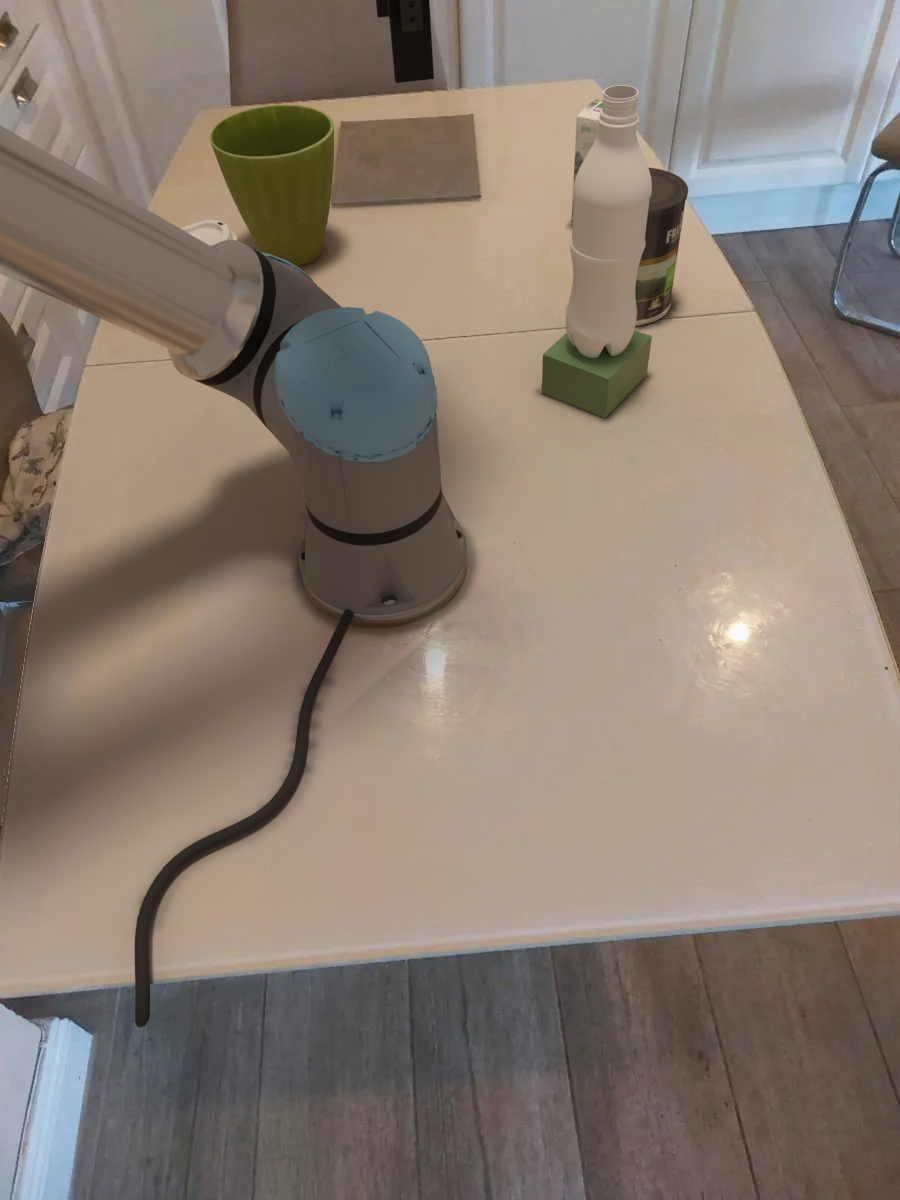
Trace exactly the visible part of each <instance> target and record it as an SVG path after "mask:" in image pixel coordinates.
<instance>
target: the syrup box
mask: <svg viewBox="0 0 900 1200" xmlns="http://www.w3.org/2000/svg"><path fill="white" fill-rule="evenodd" d="M602 100H603V99H597V98H596V99H594V100H593V101H591V102H590V103H589V104H587V105H586V106H585V107H584V108H583V109H582V110H581V111H580V112H579V113H578V114H577V115H576V123H575V143H574V144H575V145H574V146H575V147H574V165H573V184H572V188H573V187H574V182H575V178H576V175H577V173H578V170H579V168H580V166H581V164H582V163H583V161H584V159H585V157H586V155H587V154H588V152H589V151H590V149H591V147H592V146H593V144H594V142H595V140H596V138H597V135H598V132H599V128H600V125H599V123H598V117H599V115H600V110H601V108H602ZM571 201H572V203H571V204H572V205H571V223H570V225H571V226H572V224H573V206H574V195H573V194H572V200H571Z"/></svg>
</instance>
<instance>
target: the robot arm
mask: <svg viewBox="0 0 900 1200" xmlns="http://www.w3.org/2000/svg"><path fill="white" fill-rule="evenodd" d="M430 3H431V2H430V0H375V7H376V15H377V18H389V19H388V21H389V28H390V29H389V31H390V40H391V41H390V42H391V43H390V44H391V52H392V53H391V54H392V64H393V76H394V82H395V84H401V83H411V82H418V81H419V82H420V81H428V80H434V79H435V74H434V73H435V72H434V56H433V40H432V37H433V36H432V22H431V4H430ZM180 228H181V227H179V226H176V225H175V224H174V223H171V222H170V221H168V220H166V219H165V218H163V217H161V216H160V215H158V214H156V213H154V212H153V211H150V210H149V209H147V208H145V207H144V206H142V205H140V204H138V203H136V202H135V201H133V200H131V199H130V198H128V197H126V196H125V195H123V194H121V193H119V192H118V191H116V190H114V189H112V188H110V187H109V186H107V185H105V184H104V183H103V182H100V181H98V180H97V179H95V178H93V177H91V176H90V175H88V174H86V173H84V172H82V171H81V170H79V169H77V168H75V166H73V165H71V164H69V163H67V162H65V161H64V160H62V159H60V158H59V157H57V156H55V155H53V154H51V153H49V152H48V151H46V150H44V149H43V148H40V147H39V146H37V145H35V143H32V142H31V141H29V140H27V139H25V138H24V137H22V136H21V135H18V134H17V133H14V132H13V131H11V130H9V129H8V128H6V127H4V126H2V125H1V124H0V275H2V276H4V277H7V278H9V279H11V280H13V281H16V282H18V283H20V284H23V285H24V286H26V287H29V288H31V289H34V290H35V291H38V292H41V293H43V294H45V295H47V296H49V297H52V298H54V299H56V300H59V301H60V302H63V303H65V304H68V305H70V306H72V307H73V308H77V309H78V310H81V311H83V312H85V313H88V314H90V315H92V316H95V317H97V318H99V319H101V320H103V321H106V322H108V323H110V324H112V325H115V326H117V327H119V328H122V329H124V330H126V331H128V332H131V333H132V334H134V335H137V336H139V337H142V338H143V339H146V340H149V341H150V342H153V343H155V344H158V345H160V346H161V347H164V348H166V349H167V352H168V355H169V358H170V361H171V364H172V365H173V367H174V368H175V370H177V372H178V373H180V374H181V375H182V376H184V377H186V378H187V379H191V380H193V381H195V382H197V383H200V384H202V385H205V386H207V387H209V388H211V389H213V390H216V391H218V392H221V393H223V394H226V395H227V396H230V397H232V398H235V399H236V400H238V401H239V402H241V403H243V404H244V405H245V406H247V407H248V408H249V409H250V410H251V412H252V413H253V414H254V415H255V416H256V417H257V418H258V419H259V421H260V422H261V423H262V424H263V426H264V427H265V428H266V429H267V430H268V431H269V433H271V434H272V436H273V437H274V438H275V439H276V440H277V441H278V443H280V445H282V447H283V448H284V449H285V450H286V451H287V452H288V454H289V455H290V457H291V458H292V461H293V463H294V465H295V468H296V471H297V474H298V475H297V476H298V478H299V483H300V488H301V491H302V492H301V493H302V495H303V500H304V504H305V508H306V518H305V523H304V526H303V527H304V528H303V533H302V534H303V535H302V540H301V543H300V548H299V553H298V554H299V555H298V566H299V567H298V568H299V571H300V572H299V573H300V575H301V579H302V583H303V587H304V590H305V592H306V593H307V596H308V597H309V600H311V601H312V603H313V604H314V605H315V606H316V607H317V608H318V609H319V611H322V613H323V614H326V615H327V616H329V617H330V618H332V619H334V620H336V621H338V623H337V625H336V626H335V629H334V630H333V633H332V636H331V638H330V639H329V642H328V644H327V646H326V648H325V650H324V652H323V654H322V656H321V658H320V661H319V662H318V664H317V666H316V668H315V671H314V672H313V675H312V676H311V679H310V681H309V683H308V685H307V688H306V690H305V693H304V696H303V699H302V702H301V705H300V710H299V714H298V720H297V727H296V737H295V746H294V753H293V756H292V761H291V765H290V768H289V770H288V773H287V775H286V777H285V779H284V781H283V783H282V784H281V786H280V787H279V789H278V790H277V792H276V793H275V794H274V795H273V796H272V798H271V799H270V800H269V801H268V802H266V803H265V805H263V806H262V807H260V809H257V811H256V810H255V812H254V813H252V814H251V815H248V816H246V817H245V818H243V819H241V820H240V821H237V822H235V823H233V824H231V825H229V826H226V827H223V828H222V829H220V830H218V831H215V832H213V833H211V834H208V835H207V836H204V837H203V838H201V839H199V840H196V841H195V842H193V843H191V844H190V845H188V846H187V847H185V848H183V849H182V850H181V851H179V852H178V853H177V854H175V855H174V856H173V857H172V858H171V859H170V860H169V861H168V862H167V863H166V864H165V865H164V866H163V867H162V869H160V871H159V872H158V874H157V875H156V876H155V878H154V879H153V881H152V882H151V884H150V886H149V887H148V889H147V891H146V893H145V895H144V898H143V900H142V902H141V905H140V908H139V911H138V915H137V918H136V925H135V931H134V947H133V949H134V951H133V952H134V987H135V988H134V989H135V990H134V992H135V993H134V996H135V997H134V1023H135V1026H136V1027H137V1028H143V1027H145V1026H146V1025H147V1024H148V1023H149V1021H150V1016H151V968H150V967H151V965H150V932H151V925H152V919H153V914H154V911H155V909H156V905H157V903H158V900H159V899H160V896H161V894H162V892H163V891H164V888H165V887H166V886H167V884H168V883H169V881H170V880H171V879H172V877H173V876H174V875H175V874H176V873H177V872H178V871H179V870H180V869H181V868H182V867H183V866H184V865H185V864H187V863H188V862H189V861H191V860H192V859H193V858H195V857H197V856H199V855H200V854H202V853H204V852H206V851H207V850H210V849H212V848H214V847H216V846H218V845H221V844H222V843H225V842H227V841H230V840H232V839H235V838H236V837H238V836H240V835H242V834H245V833H246V832H248V831H250V830H252V829H254V828H256V827H257V826H259V825H260V824H262V823H263V822H265V821H266V820H268V819H269V818H270V817H271V816H272V815H274V814H275V812H277V811H279V810H280V808H281V807H282V806H283V805H284V803H286V801H287V800H288V799H289V797H290V795H291V794H292V792H293V791H294V790H295V788H296V785H297V784H298V782H299V781H300V778H301V775H302V772H303V770H304V767H305V766H304V765H305V763H306V757H307V752H308V743H309V732H310V725H311V724H310V723H311V717H312V713H313V708H314V705H315V701H316V698H317V696H318V693H319V691H320V688H321V685H322V683H323V681H324V679H325V677H326V675H327V673H328V671H329V669H330V667H331V665H332V663H333V661H334V659H335V657H336V655H337V652H338V650H339V648H340V646H341V645H342V642H343V640H344V637H345V635H346V634H347V631H348V629H349V627H350V626H353V627H359V628H366V629H387V628H396V627H401V626H406V625H408V624H412V623H414V622H418V621H419V620H421V619H425V618H427V617H429V616H430V615H432V614H435V613H436V612H437V611H438V610H440V609H441V608H443V607H444V606H445V605H446V604H448V603H449V601H450V600H452V598H453V597H454V596H455V595H456V593H457V592H458V590H459V589H460V587H461V586H462V584H463V582H464V579H465V576H466V573H467V567H468V553H467V541H466V537H465V534H464V531H463V528H462V527H461V525H460V523H459V521H458V519H457V517H456V516H455V514H454V512H453V510H452V508H451V506H450V505H449V503H448V500H447V499H446V497H445V495H444V494H443V489H442V487H443V486H442V475H441V460H440V459H441V458H440V445H439V433H438V432H439V430H438V415H437V408H438V393H437V390H438V389H437V385H436V380H435V375H434V373H433V370H432V364H431V360H430V356H429V353H428V351H427V349H426V347H425V344H424V343H423V341H422V340H421V338H420V337H419V336H418V334H416V333H415V331H413V329H412V328H411V327H410V326H408V325H406V324H405V323H404V322H403V321H402V320H399V319H398V318H396V317H394V316H393V315H390V314H388V313H385V312H382V311H378V310H375V311H373V312H371V313H366V311H365V309H364V308H363V307H357V306H356V307H354V306H353V307H351V306H344V307H343V306H342V305H340V304H339V303H338V302H337V301H335V299H334V298H332V297H331V296H330V295H329V294H328V293H327V292H325V291H324V290H323V289H322V288H321V287H320V286H319V285H317V283H316V282H315V281H314V280H313V278H312V277H311V276H310V275H309V274H308V273H306V271H304V270H303V269H302V268H300V266H299V267H297V266H295V265H294V264H292V263H290V262H288V261H286V260H284V259H281V258H279V257H276V256H274V255H271V254H267V253H263V252H262V251H259V250H257V249H255V248H253V247H252V246H250V245H248V244H247V243H245V242H242V241H240V240H238V241H237V240H225V241H221V242H219V243H216V244H214V245H212V246H210V245H208V244H206V243H204V242H203V241H201V240H199V239H198V238H196V237H194V236H192V235H191V234H189V233H187V232H185V231H184V230H182V229H180Z"/></svg>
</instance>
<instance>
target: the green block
mask: <svg viewBox="0 0 900 1200" xmlns="http://www.w3.org/2000/svg"><path fill="white" fill-rule="evenodd" d="M652 339H653V336H652V335H650V334H646V333H644V332H641V331H638V330H635V329H634V332H633V335H632V338H631V340H630V342H629V344H628V345H627V346H626V348H625V349H624V350H623V351H622V352H621V353H620V354H618V355H616V356H611V355H610V354H609V353H608V351H607V349H606V347H605V346H604V347H603V349H602V351H601V353H600V355H599V356H598V357H597V358H588V357H585V356H583V355H582V354H581V353H580V352H579V351H578V349H577V347H576V346H573V345H572V343H571V342H570V340H569V338H568V335H567V332H565V334H563V335H562V336H561V337H560V338H559V339H558V340H557V341H556V342H555V343H553V345H551V346H550V347H549V348H548V349H547V350H545V352H543V353H542V369H541V370H542V371H541V372H542V373H541V394H543V395H546V396H548V397H551V398H552V399H553V398H554V399H555V400H558V401H561V402H563V403H566V404H568V405H571V406H573V407H576V408H578V409H581V410H583V411H585V412H588V413H591V414H593V415H596V416H598V417H601V418H604V419H606V418H607V417H608V416H609V415H610V414H611V413H612V412H613V411H614V410H615V409H616V408H617V407H618V406H619V404H620V403H622V401H623V400H624V399H625V398H626V397H627V396H628V395H629V394H630V393H631V392H632V391H633V390H634V389H635V388H636V387H637V386H638V385H639V384H640V383H641V382H642V381H643V380H644V379H645V378H646V376H648V369H649V361H650V356H651V355H650V354H651V347H652Z"/></svg>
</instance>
